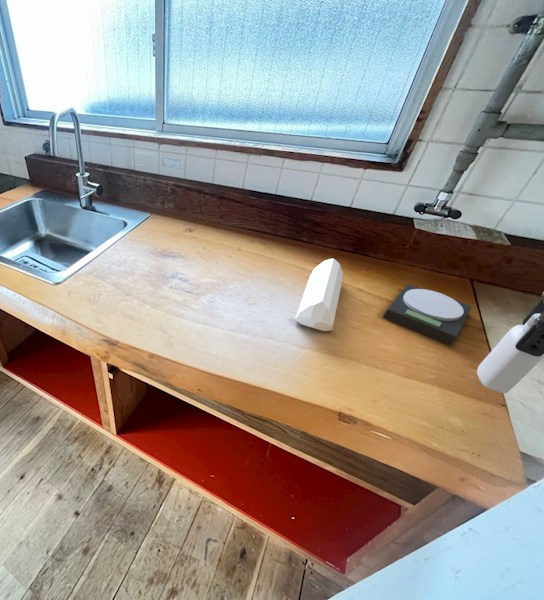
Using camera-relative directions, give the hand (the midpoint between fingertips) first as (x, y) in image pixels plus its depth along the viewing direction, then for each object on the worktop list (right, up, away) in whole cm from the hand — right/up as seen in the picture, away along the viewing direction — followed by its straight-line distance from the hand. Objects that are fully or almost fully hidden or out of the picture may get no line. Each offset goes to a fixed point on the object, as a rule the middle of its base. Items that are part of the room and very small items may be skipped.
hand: (530, 338), depth 39 cm
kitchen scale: (+15, +1, +32) cm, 35 cm away
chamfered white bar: (-6, +4, +37) cm, 38 cm away
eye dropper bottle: (0, -6, +5) cm, 8 cm away
